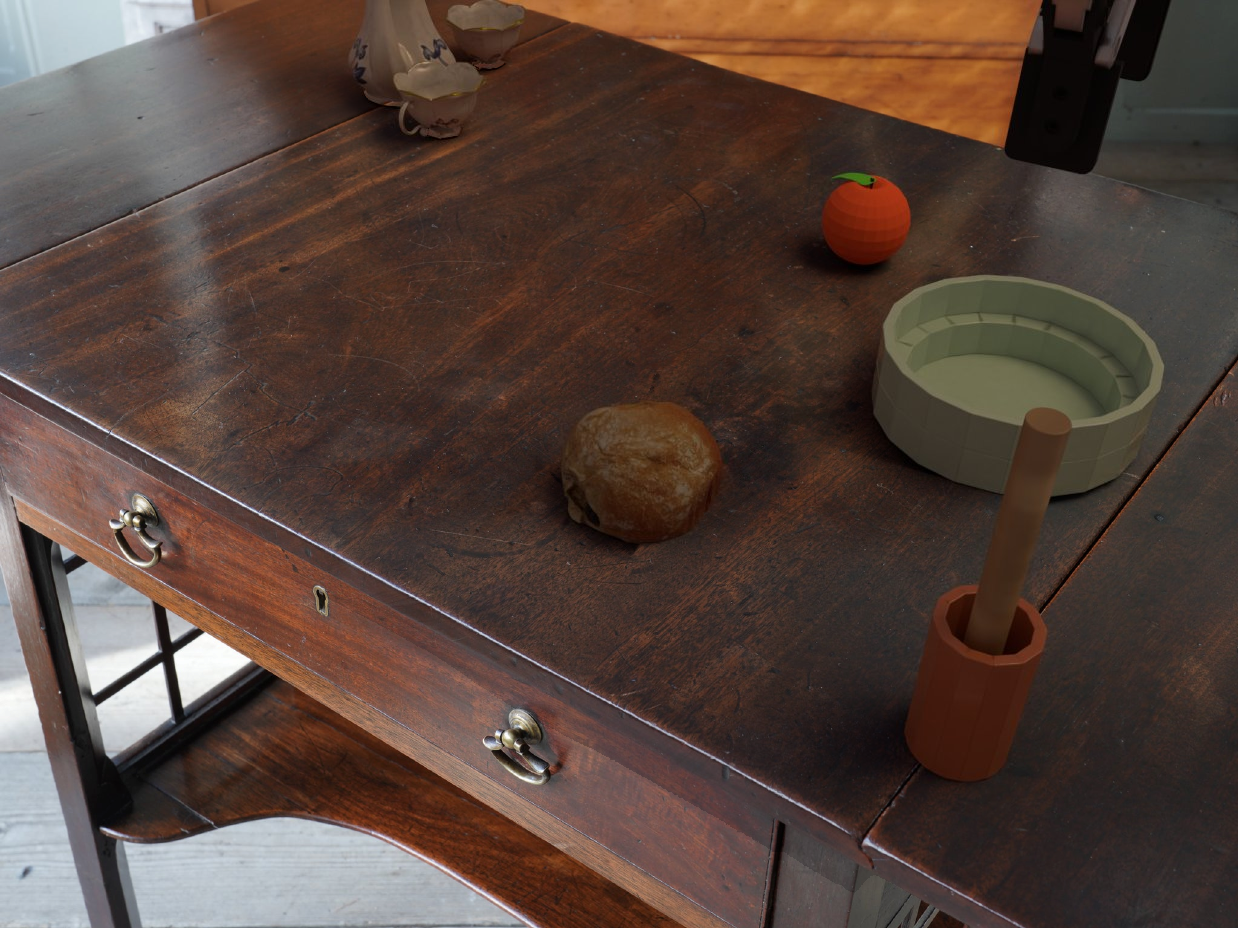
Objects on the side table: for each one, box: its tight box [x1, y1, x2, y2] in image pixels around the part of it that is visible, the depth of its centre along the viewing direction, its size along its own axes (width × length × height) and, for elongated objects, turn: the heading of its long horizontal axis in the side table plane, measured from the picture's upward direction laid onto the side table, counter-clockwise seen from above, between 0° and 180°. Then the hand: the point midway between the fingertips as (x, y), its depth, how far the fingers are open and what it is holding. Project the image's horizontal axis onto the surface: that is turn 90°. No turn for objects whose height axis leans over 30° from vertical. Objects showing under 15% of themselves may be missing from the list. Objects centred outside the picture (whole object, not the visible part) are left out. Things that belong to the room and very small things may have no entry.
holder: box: [903, 583, 1049, 782], centre depth 58 cm, size 5×5×9 cm
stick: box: [963, 407, 1072, 656], centre depth 54 cm, size 3×2×20 cm, turn 66°
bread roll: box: [560, 400, 724, 545], centre depth 75 cm, size 10×10×8 cm
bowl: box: [871, 274, 1165, 498], centre depth 80 cm, size 17×17×6 cm
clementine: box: [819, 172, 912, 266], centre depth 97 cm, size 8×7×7 cm
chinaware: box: [347, 0, 527, 137], centre depth 119 cm, size 28×17×17 cm, turn 176°
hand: (1080, 115), depth 47 cm, fingers open, 9 cm apart
